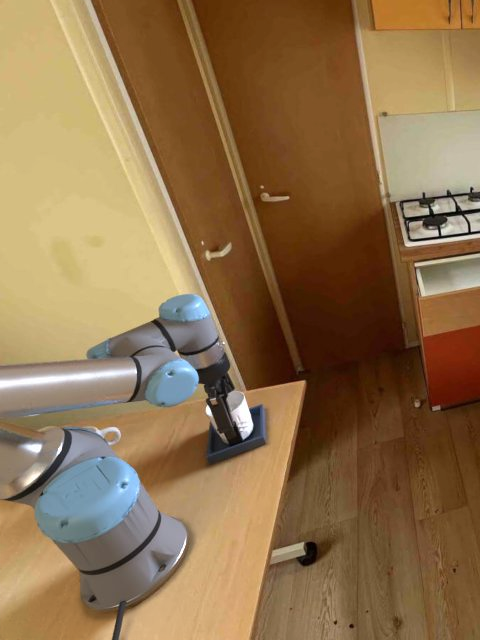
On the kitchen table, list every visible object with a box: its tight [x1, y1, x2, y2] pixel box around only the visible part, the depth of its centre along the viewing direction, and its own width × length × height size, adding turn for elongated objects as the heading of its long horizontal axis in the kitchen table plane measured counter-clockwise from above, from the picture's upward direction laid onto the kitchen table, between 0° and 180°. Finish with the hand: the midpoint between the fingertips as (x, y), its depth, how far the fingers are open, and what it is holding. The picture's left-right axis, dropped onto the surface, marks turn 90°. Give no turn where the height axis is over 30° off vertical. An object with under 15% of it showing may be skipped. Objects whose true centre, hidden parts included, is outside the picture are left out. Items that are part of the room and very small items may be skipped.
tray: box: [205, 403, 267, 465], centre depth 103 cm, size 12×12×2 cm
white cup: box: [204, 390, 254, 444], centre depth 101 cm, size 8×8×10 cm
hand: (237, 430), depth 103 cm, fingers closed on white cup, 8 cm apart
